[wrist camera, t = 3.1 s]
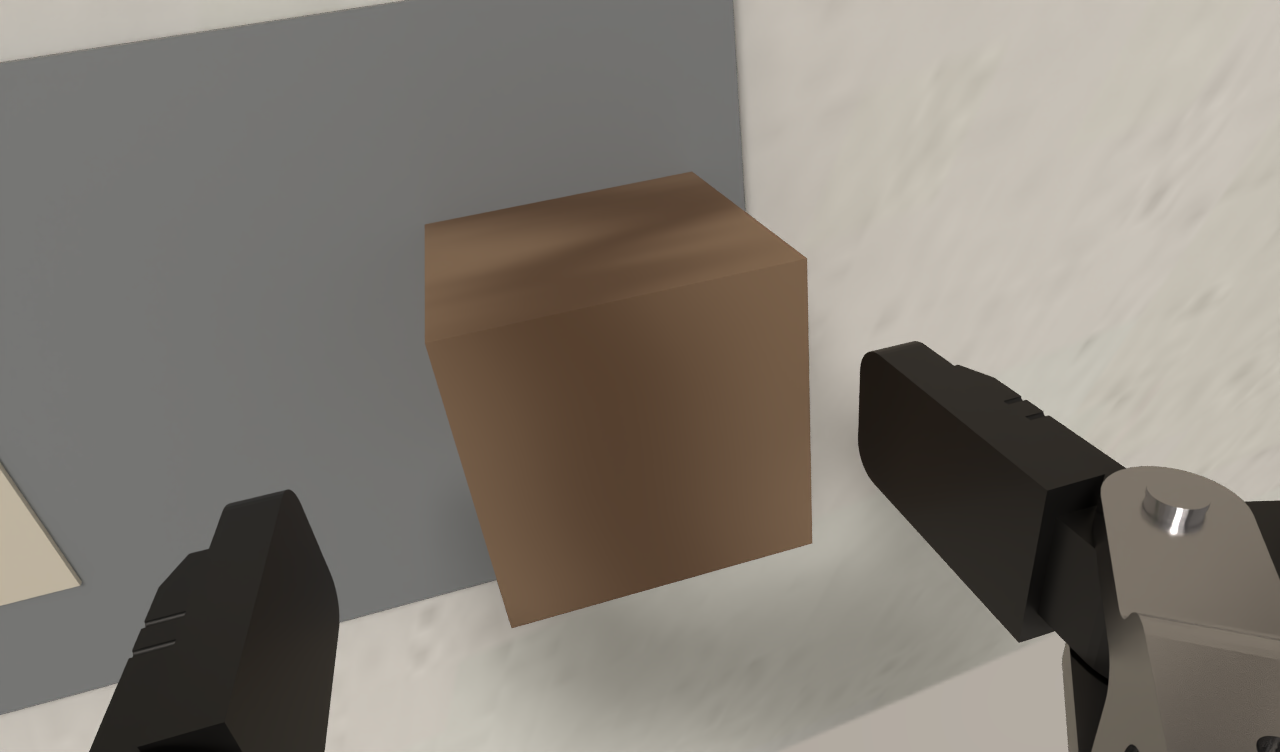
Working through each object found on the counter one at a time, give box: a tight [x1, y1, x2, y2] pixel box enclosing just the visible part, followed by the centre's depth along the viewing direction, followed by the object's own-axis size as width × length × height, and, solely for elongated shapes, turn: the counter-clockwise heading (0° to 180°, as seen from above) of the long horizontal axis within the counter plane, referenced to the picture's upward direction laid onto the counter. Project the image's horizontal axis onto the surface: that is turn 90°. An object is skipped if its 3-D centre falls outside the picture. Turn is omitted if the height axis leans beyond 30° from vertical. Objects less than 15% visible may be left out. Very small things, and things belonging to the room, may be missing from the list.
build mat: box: [0, 0, 745, 715], centre depth 14 cm, size 22×12×1 cm, turn 98°
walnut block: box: [425, 172, 812, 628], centre depth 13 cm, size 5×5×5 cm
